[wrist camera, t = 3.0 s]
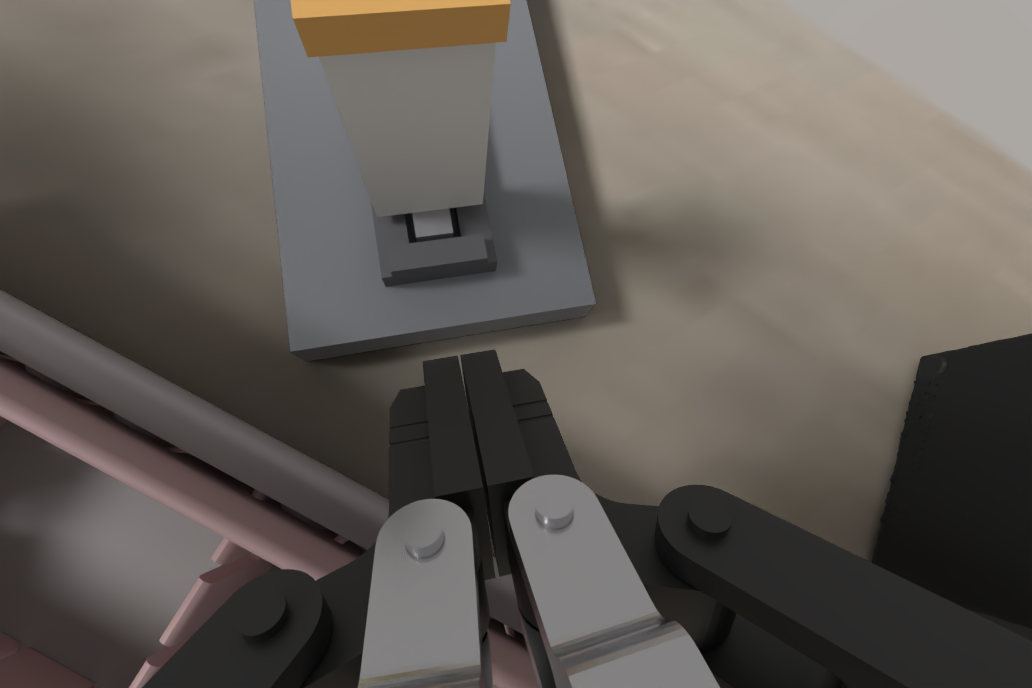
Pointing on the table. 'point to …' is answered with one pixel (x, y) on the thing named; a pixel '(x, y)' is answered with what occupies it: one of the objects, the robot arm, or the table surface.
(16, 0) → the table surface
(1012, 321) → the table surface
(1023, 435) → the black drawer cabinet
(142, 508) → the organizer tray
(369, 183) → the fader tab
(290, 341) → the grey slider track base
